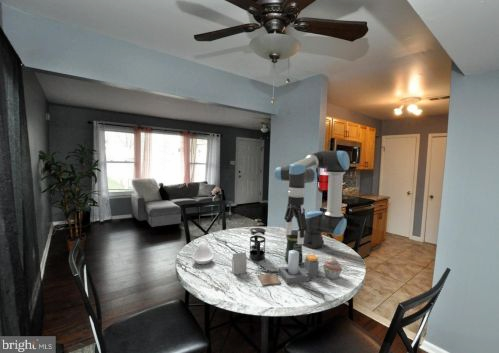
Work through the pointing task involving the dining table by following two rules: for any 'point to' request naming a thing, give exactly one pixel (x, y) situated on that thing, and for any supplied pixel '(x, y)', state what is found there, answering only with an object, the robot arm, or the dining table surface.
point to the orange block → (311, 258)
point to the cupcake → (332, 268)
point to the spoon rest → (203, 254)
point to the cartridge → (293, 262)
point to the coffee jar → (293, 245)
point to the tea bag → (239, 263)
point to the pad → (269, 279)
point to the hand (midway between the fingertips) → (294, 239)
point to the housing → (300, 273)
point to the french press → (257, 244)
